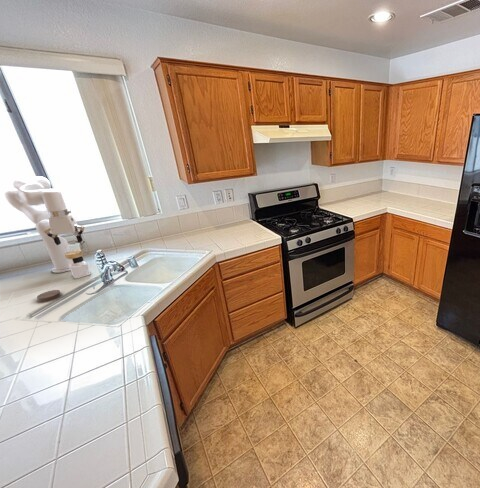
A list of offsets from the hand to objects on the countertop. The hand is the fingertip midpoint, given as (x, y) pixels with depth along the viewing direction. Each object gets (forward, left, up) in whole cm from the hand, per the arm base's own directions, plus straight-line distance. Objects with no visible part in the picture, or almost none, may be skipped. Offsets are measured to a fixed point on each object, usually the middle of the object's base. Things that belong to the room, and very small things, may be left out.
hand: (69, 243), depth 148 cm
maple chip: (0, 0, -8) cm, 8 cm away
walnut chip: (+25, -4, -20) cm, 32 cm away
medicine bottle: (0, 0, -21) cm, 21 cm away
